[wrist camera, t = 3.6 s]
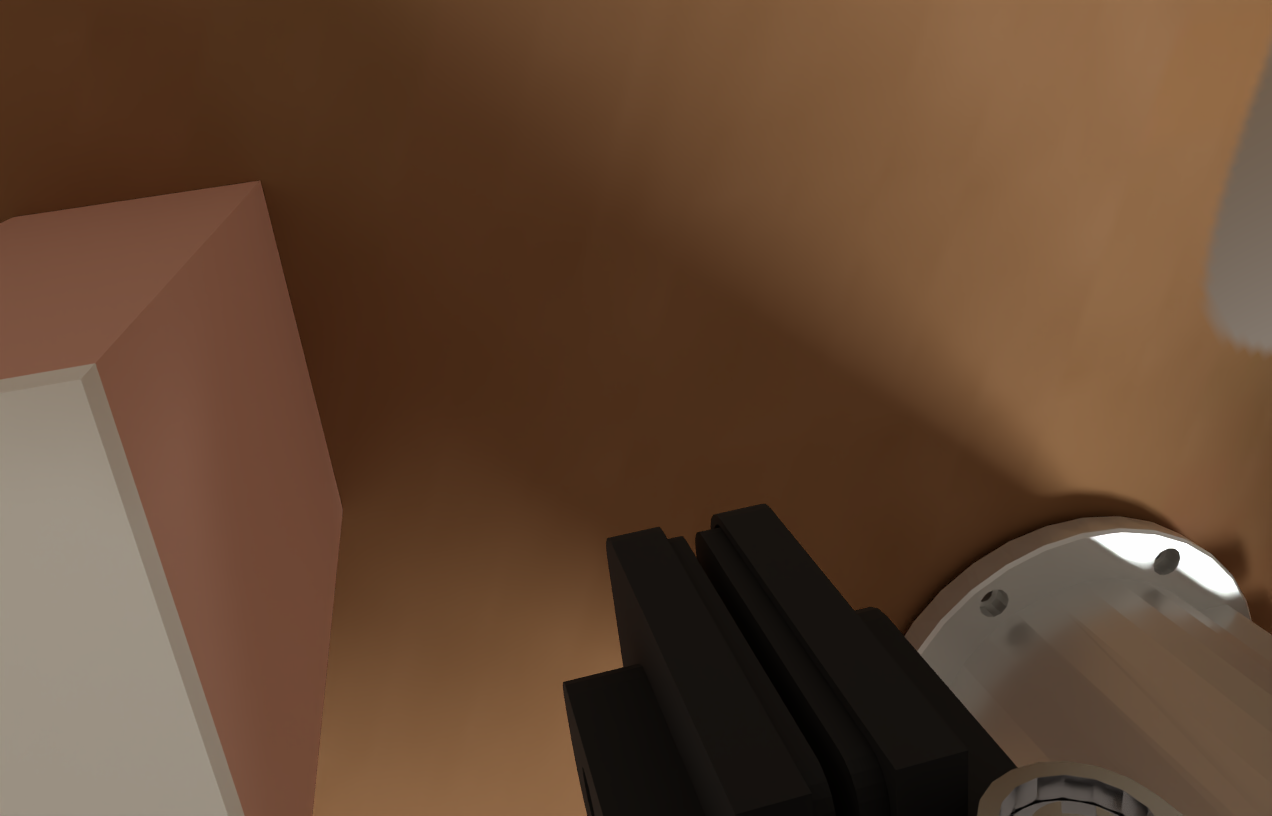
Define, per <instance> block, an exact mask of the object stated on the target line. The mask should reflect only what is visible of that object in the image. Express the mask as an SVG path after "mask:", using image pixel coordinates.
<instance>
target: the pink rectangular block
mask: <svg viewBox="0 0 1272 816" xmlns="http://www.w3.org/2000/svg"><path fill="white" fill-rule="evenodd" d="M342 515H343V508H342V504H341V500H340V496H339V492H338V488H337V484H336V480H335V476H334V472H333V468H332V464H331V460H330V456H329V452H328V448H327V444H326V440H325V436H324V432H323V428H322V424H321V420H320V416H319V412H318V408H317V404H316V400H315V396H314V392H313V388H312V384H311V380H310V376H309V372H308V368H307V364H306V360H305V356H304V352H303V348H302V344H301V340H300V336H299V332H298V328H297V325H296V321H295V317H294V313H293V309H292V305H291V301H290V297H289V293H288V289H287V285H286V281H285V277H284V273H283V269H282V265H281V261H280V257H279V253H278V249H277V245H276V241H275V237H274V233H273V229H272V225H271V221H270V217H269V213H268V209H267V205H266V201H265V197H264V193H263V189H262V185H261V181H254V182H247V183H240V184H233V185H227V186H220V187H213V188H206V189H200V190H193V191H186V192H179V193H173V194H166V195H159V196H153V197H146V198H139V199H132V200H126V201H119V202H112V203H105V204H99V205H92V206H85V207H78V208H72V209H65V210H58V211H52V212H45V213H38V214H31V215H25V216H18V217H12V218H10V219H8V220H6V221H4V222H2V223H0V816H312V814H313V804H314V794H315V784H316V774H317V765H318V755H319V745H320V735H321V725H322V715H323V705H324V695H325V685H326V675H327V665H328V655H329V645H330V635H331V625H332V615H333V605H334V595H335V585H336V575H337V565H338V555H339V545H340V535H341V525H342Z"/></svg>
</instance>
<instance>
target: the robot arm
mask: <svg viewBox="0 0 1272 816" xmlns="http://www.w3.org/2000/svg"><path fill="white" fill-rule="evenodd" d="M695 543H696V555H697V558H696V556H695V555H694V553H693V551H692V550H691V548H690V546H689V545H688V543H687V541H686V540H685V538H684V537H683V536H680V537H675V538H671V539H667V538H666V536H665V534H664V532H663V531H662V529H661V528H660V527H656V528H651V529H647V530H642V531H638V532H633V533H629V534H624V535H620V536H615V537H611V538H607V541H606V549H607V558H608V565H609V572H610V579H611V585H612V592H613V599H614V606H615V613H616V620H617V626H618V633H619V640H620V647H621V654H622V661H623V668H619V669H615V670H610V671H606V672H602V673H598V674H594V675H590V676H586V677H582V678H578V679H574V680H570V681H566V682H563V691H564V698H565V705H566V711H567V716H568V722H569V728H570V734H571V739H572V745H573V750H574V756H575V761H576V766H577V771H578V776H579V781H580V785H581V790H582V794H583V799H584V803H585V808H586V812H587V816H1272V635H1271V634H1270V633H1268V632H1267V631H1265V630H1264V629H1262V628H1261V627H1259V626H1258V625H1257V624H1255V623H1254V622H1252V619H1251V616H1250V612H1249V608H1248V604H1247V600H1246V599H1245V597H1244V595H1243V593H1242V591H1241V590H1240V588H1239V586H1238V584H1237V583H1236V581H1235V579H1234V577H1233V575H1232V574H1231V573H1230V572H1229V571H1228V570H1227V569H1226V568H1225V567H1224V566H1223V565H1222V564H1221V563H1220V562H1219V561H1218V560H1217V559H1216V558H1215V557H1214V556H1213V555H1212V554H1211V553H1209V552H1207V551H1206V550H1204V549H1203V548H1201V547H1200V546H1198V545H1197V544H1195V543H1194V542H1192V541H1190V540H1189V539H1187V538H1186V537H1184V536H1183V535H1181V534H1179V533H1177V532H1175V531H1172V530H1170V529H1168V528H1165V527H1163V526H1161V525H1158V524H1156V523H1154V522H1150V521H1144V520H1139V519H1133V518H1127V517H1121V516H1111V517H1086V518H1079V519H1075V520H1071V521H1066V522H1062V523H1058V524H1053V525H1049V526H1045V527H1043V528H1040V529H1038V530H1036V531H1033V532H1031V533H1028V534H1026V535H1024V536H1021V537H1019V538H1016V539H1014V540H1012V541H1009V542H1007V543H1006V544H1004V545H1002V546H1001V547H999V548H998V549H996V550H994V551H993V552H991V553H989V554H988V555H986V556H985V557H983V558H981V559H980V560H978V561H976V562H975V563H973V564H972V565H971V566H970V567H968V568H967V569H966V570H965V571H964V572H962V573H961V574H960V575H959V576H958V577H957V578H955V579H954V580H953V581H952V582H951V583H949V584H948V585H947V586H946V587H945V588H944V589H942V590H941V591H940V592H939V594H938V595H937V596H936V597H935V598H934V599H933V600H932V602H931V603H930V604H929V605H928V606H927V607H926V608H925V609H924V611H923V612H922V613H921V614H920V615H919V616H918V617H917V619H916V620H915V621H914V622H913V624H912V625H911V627H910V628H909V630H908V632H907V633H906V635H905V636H904V635H903V634H902V633H901V632H900V631H899V630H898V628H897V627H896V626H895V625H894V624H893V623H892V622H891V620H890V619H889V618H888V617H887V616H886V615H885V614H884V613H883V612H881V611H880V610H879V609H878V608H873V607H868V608H864V609H860V610H856V611H854V610H853V609H852V607H851V606H850V605H849V604H848V602H847V601H846V600H845V599H844V598H843V596H842V595H841V594H840V593H839V591H838V590H837V589H836V588H835V587H834V585H833V584H832V583H831V582H830V580H829V579H828V578H827V577H826V576H825V574H824V573H823V572H822V571H821V569H820V568H819V567H818V566H817V565H816V563H815V562H814V561H813V560H812V558H811V557H810V556H809V555H808V554H807V552H806V551H805V550H804V549H803V547H802V546H801V545H800V544H799V543H798V541H797V540H796V539H795V538H794V536H793V535H792V534H791V533H790V532H789V530H788V529H787V528H786V527H785V525H784V524H783V523H782V522H781V521H780V519H779V518H778V517H777V516H776V514H775V513H774V512H773V511H772V510H771V508H770V507H769V506H768V505H766V504H760V505H755V506H751V507H746V508H742V509H737V510H732V511H728V512H723V513H719V514H714V515H713V516H712V518H711V530H706V531H702V532H698V533H697V534H696V539H695Z"/></svg>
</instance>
